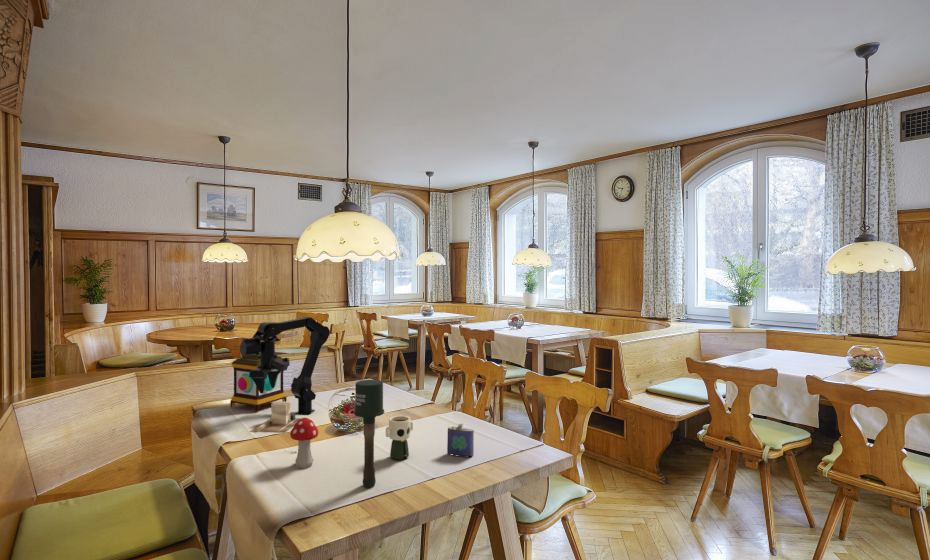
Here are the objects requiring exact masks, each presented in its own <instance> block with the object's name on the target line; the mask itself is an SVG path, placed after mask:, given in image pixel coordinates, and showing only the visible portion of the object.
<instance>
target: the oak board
mask: <svg viewBox="0 0 930 560" xmlns="http://www.w3.org/2000/svg"><path fill="white" fill-rule="evenodd" d="M301 418H302V417H300V418H299V417H298V418H297V417H296V414H295V413H290V420H291V422H289V423H288V424H286V425H285V424H271V418H269V419H267V420H265V421H263V422H262V423H261V424H259V425H257V426H256V427H254V428H253V429H251V430H249V431H248V432H250V433H278V434H279V433H280V434H284V433H287V432H288V431H289V430H292V428H293V427H294V425H295V423H296V422H297V421H298V420H299V419H301Z"/></svg>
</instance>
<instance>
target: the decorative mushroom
mask: <svg viewBox="0 0 930 560" xmlns="http://www.w3.org/2000/svg"><path fill="white" fill-rule="evenodd" d="M300 418H301V419H299V420H298V421H297V422H296V423H295V425H294V427H292V428H291V429H290V433H289V436H290V438H291V439H292V440H295V441H298V444H297V445H298V447H297V448H298V449H297V455H296V457H295V461H294V462H295V465H296V467H297V468H298V469H308V467H309V468H311V467H312V466H313V462H314V458H313V456H312V450H311V440H313V439H316V438H317V437H318V435H319V430H318V427H317V426H316V425H315V423H314V421H313V419H311V418H308V417H300Z"/></svg>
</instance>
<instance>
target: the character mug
mask: <svg viewBox="0 0 930 560" xmlns="http://www.w3.org/2000/svg"><path fill="white" fill-rule="evenodd" d="M413 430H414V422H413V420H411V417H410V416H406V415H396V416H392V417H391V416H390V418H389V419H388V426H386V427H385V437H386V438H389V439H390V440H391V445H390V453H389V457H391V458H392V459H394V460H404V459H405V458H409V456H410V451H409V444H408V439H409V438H410V436H411V431H413Z"/></svg>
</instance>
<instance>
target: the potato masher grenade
mask: <svg viewBox="0 0 930 560" xmlns="http://www.w3.org/2000/svg"><path fill="white" fill-rule="evenodd" d="M354 396H355V405H354V407H355V409H354V411H353V414H354V416H356V417H359V418H362V419H363V438H364V450H363V451H364V455H363V456H364V461H363V462H364V466H363V472H362V476H363V477H362V485H363V487H364V488H366V489H367V488H369V489H370V488H373V487H375V485H376V480H377V479H376V469H375V466H374V465H375V462H374V461H375V435H376V433H375V432H376V430H375V429H376V427H375V426H376V417H379V416H382V415H384V414H385V409H384V382H383V381H382V380H381V379H380V380H379V379H363V380H360V381H357V382H355V395H354Z"/></svg>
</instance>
